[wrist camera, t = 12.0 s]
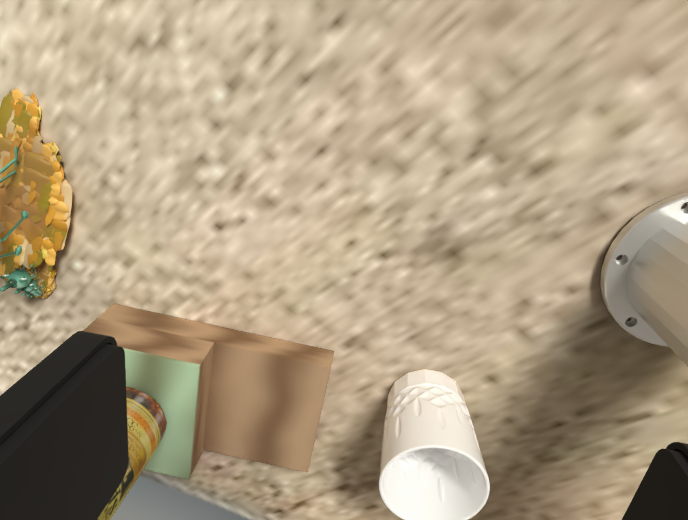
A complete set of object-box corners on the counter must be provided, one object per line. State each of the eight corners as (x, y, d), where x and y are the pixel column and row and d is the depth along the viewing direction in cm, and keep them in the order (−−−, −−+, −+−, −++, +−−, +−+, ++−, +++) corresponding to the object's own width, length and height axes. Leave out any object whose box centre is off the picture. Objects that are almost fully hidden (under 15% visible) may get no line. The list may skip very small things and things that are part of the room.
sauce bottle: (186, 420, 40) (13, 724, 22) (137, 453, 42) (-59, 759, 24) (126, 365, 39) (-114, 644, 20) (78, 403, 40) (-180, 689, 22)
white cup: (364, 405, 45) (357, 494, 36) (416, 347, 42) (423, 427, 33) (432, 446, 47) (443, 543, 37) (487, 393, 44) (513, 482, 34)
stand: (334, 351, 43) (325, 394, 38) (311, 452, 48) (301, 503, 43) (113, 303, 44) (73, 339, 38) (112, 409, 48) (76, 454, 43)
